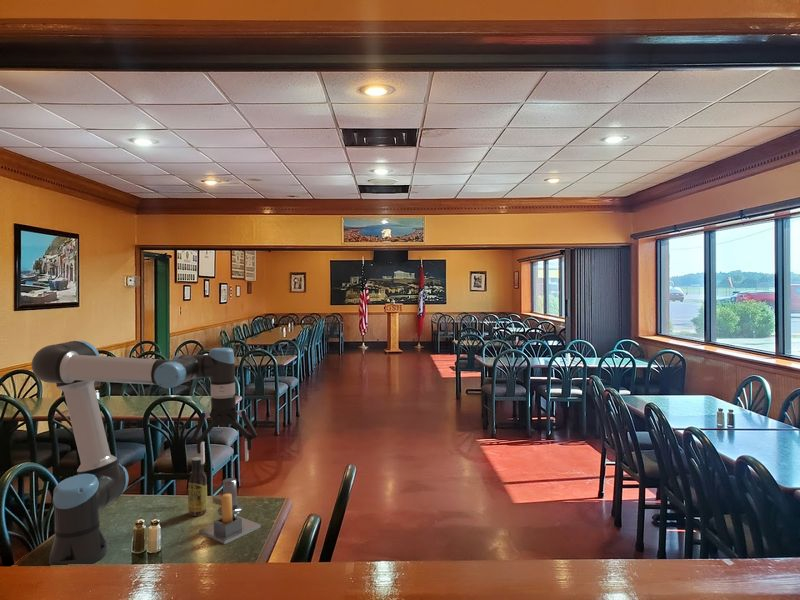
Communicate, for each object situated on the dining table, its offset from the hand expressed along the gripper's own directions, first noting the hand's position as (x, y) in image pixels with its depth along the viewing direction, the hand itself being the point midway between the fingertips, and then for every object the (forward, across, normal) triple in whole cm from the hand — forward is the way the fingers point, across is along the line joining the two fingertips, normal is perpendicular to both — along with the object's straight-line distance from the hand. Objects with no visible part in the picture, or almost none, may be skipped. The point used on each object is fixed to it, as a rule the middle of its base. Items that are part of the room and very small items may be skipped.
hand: (225, 461), depth 176 cm
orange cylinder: (+23, 0, 0) cm, 23 cm away
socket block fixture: (+24, -1, +5) cm, 25 cm away
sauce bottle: (+24, -12, +20) cm, 34 cm away
